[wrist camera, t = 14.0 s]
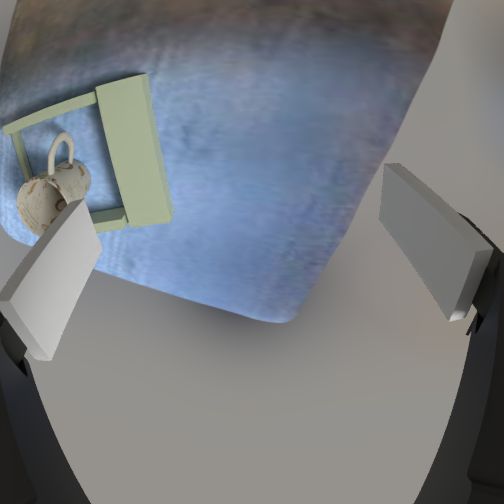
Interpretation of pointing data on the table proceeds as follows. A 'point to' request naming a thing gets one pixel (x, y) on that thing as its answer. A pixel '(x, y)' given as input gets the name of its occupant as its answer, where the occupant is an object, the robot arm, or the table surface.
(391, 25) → the table surface
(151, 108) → the pale green rectangular frame
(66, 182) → the mug
